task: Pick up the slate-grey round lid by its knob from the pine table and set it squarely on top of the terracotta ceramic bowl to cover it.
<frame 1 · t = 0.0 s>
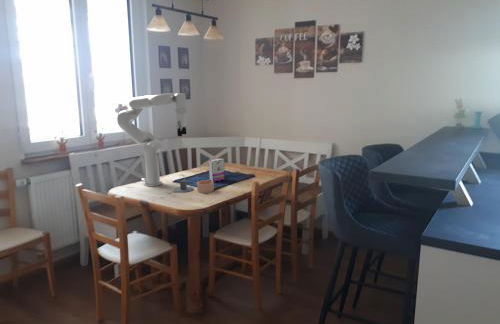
hand: (182, 135, 282), 37 cm above the table, tool pointing down, fingers open, 9 cm apart
bowl: (205, 190, 274), on the table
lid: (183, 190, 278), on the table
candy bar box: (217, 181, 300), on the table
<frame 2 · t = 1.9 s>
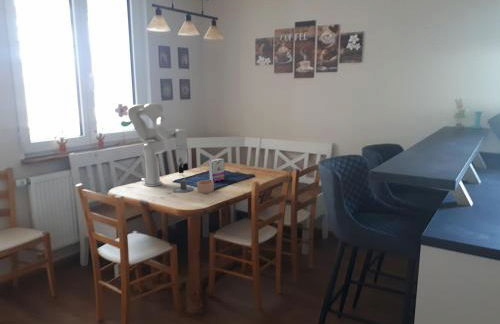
hand: (183, 171, 275), 13 cm above the table, tool pointing down, fingers open, 9 cm apart
nothing on the table moved.
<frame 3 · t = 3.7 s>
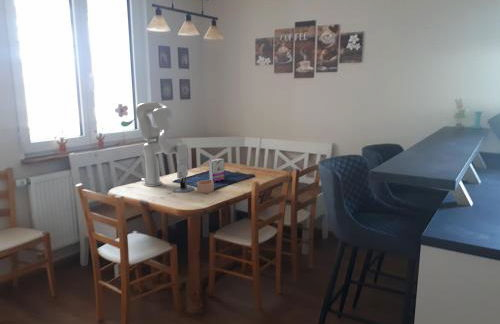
hand: (183, 186, 277), 2 cm above the table, tool pointing down, fingers closed on lid, 3 cm apart
lid: (183, 189, 278), on the table, touching gripper
everything else where it was.
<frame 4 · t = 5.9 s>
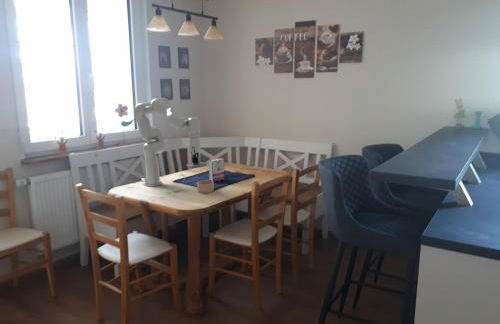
hand: (196, 162, 271), 20 cm above the table, tool pointing down, fingers closed on lid, 3 cm apart
lid: (196, 165, 272), point 18 cm above the table, touching gripper
everything else where it was.
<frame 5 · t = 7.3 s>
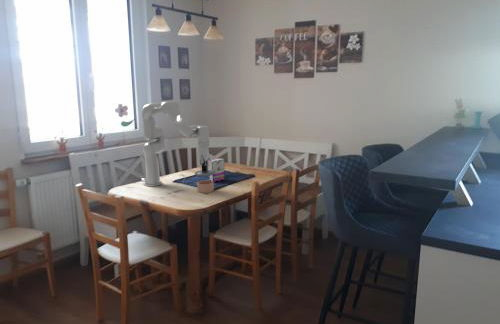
hand: (205, 170, 271), 15 cm above the table, tool pointing down, fingers closed on lid, 3 cm apart
lid: (205, 173, 272), point 12 cm above the table, touching gripper
everything else where it was.
when the fingers open (9 cm above the table, at t = 8.4 s): lid drops 1 cm, resting on bowl.
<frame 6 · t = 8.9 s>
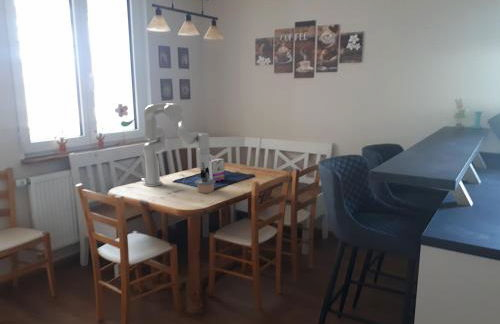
hand: (205, 176, 272), 10 cm above the table, tool pointing down, fingers open, 8 cm apart
lid: (205, 182, 273), point 6 cm above the table, touching bowl
everything else where it was.
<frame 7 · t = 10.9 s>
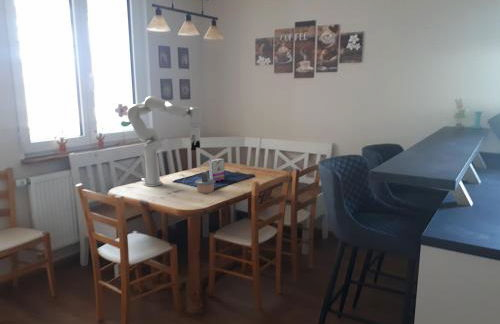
hand: (195, 148, 281), 27 cm above the table, tool pointing down, fingers open, 9 cm apart
nothing on the table moved.
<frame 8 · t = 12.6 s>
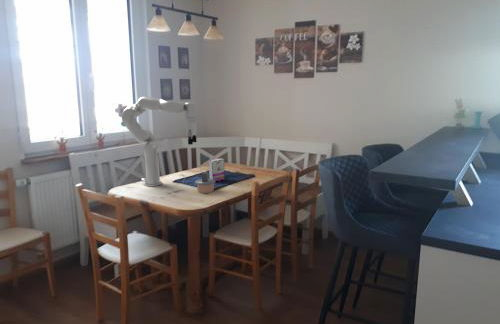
hand: (192, 143, 286), 30 cm above the table, tool pointing down, fingers open, 9 cm apart
nothing on the table moved.
at the end: lid 0.1 cm off-centre on the bowl, point 6.0 cm above the bowl's base; lid tilted 0°; the gripper is holding nothing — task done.
